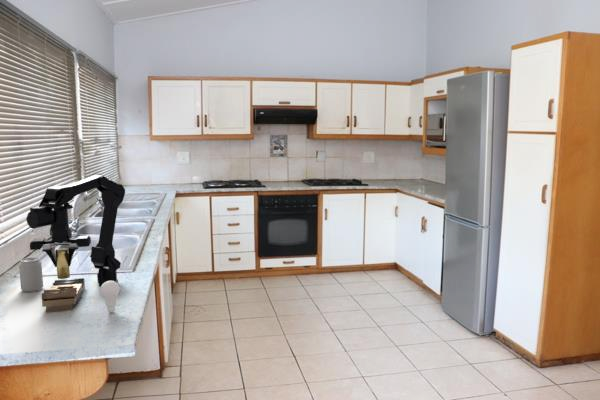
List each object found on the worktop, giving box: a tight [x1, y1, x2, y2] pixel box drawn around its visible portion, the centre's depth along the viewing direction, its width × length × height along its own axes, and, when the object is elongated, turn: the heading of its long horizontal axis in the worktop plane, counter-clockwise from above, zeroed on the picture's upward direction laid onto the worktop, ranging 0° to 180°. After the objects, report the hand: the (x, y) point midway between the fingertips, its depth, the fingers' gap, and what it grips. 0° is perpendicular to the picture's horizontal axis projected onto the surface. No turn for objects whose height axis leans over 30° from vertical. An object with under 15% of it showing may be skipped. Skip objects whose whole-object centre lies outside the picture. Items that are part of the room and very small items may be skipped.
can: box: [18, 256, 44, 293], centre depth 187 cm, size 8×8×12 cm
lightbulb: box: [99, 281, 121, 314], centre depth 165 cm, size 6×6×11 cm
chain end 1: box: [40, 284, 82, 313], centre depth 174 cm, size 10×16×6 cm, turn 15°
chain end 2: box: [52, 277, 86, 305], centre depth 180 cm, size 10×16×4 cm, turn 15°
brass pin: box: [55, 248, 71, 280], centre depth 176 cm, size 4×4×10 cm
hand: (62, 266), depth 176 cm, fingers closed on brass pin, 4 cm apart
